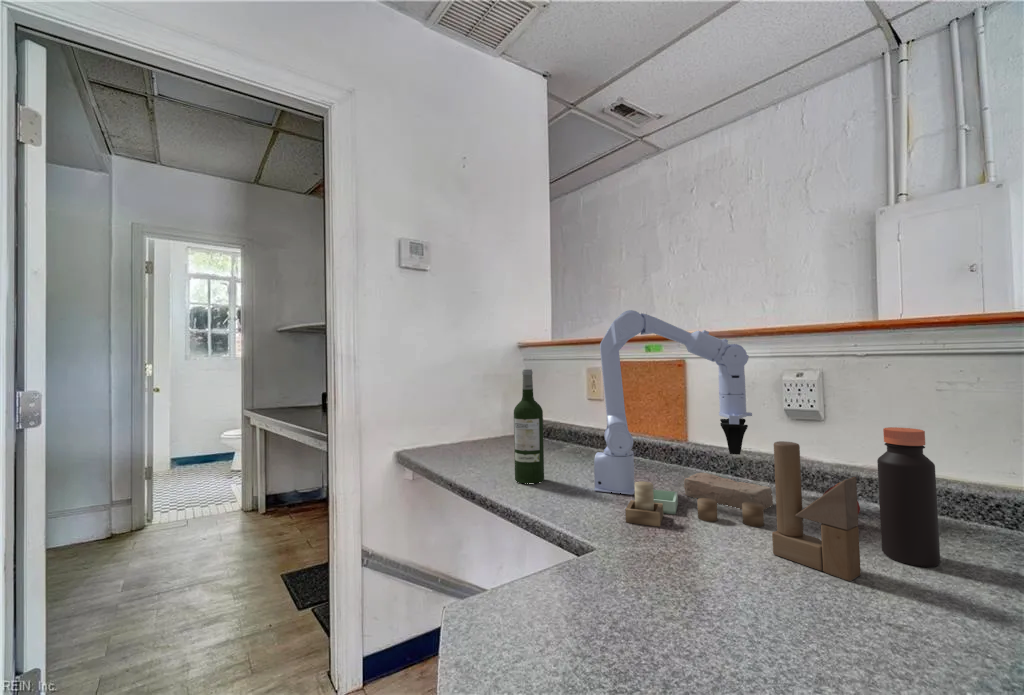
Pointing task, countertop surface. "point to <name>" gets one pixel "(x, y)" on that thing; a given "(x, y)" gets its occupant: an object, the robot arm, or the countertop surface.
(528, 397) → the wine bottle
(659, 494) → the tray
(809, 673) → the countertop surface
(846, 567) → the wooden block
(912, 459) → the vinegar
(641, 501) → the dowel
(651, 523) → the socket block
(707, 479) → the brick
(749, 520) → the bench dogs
